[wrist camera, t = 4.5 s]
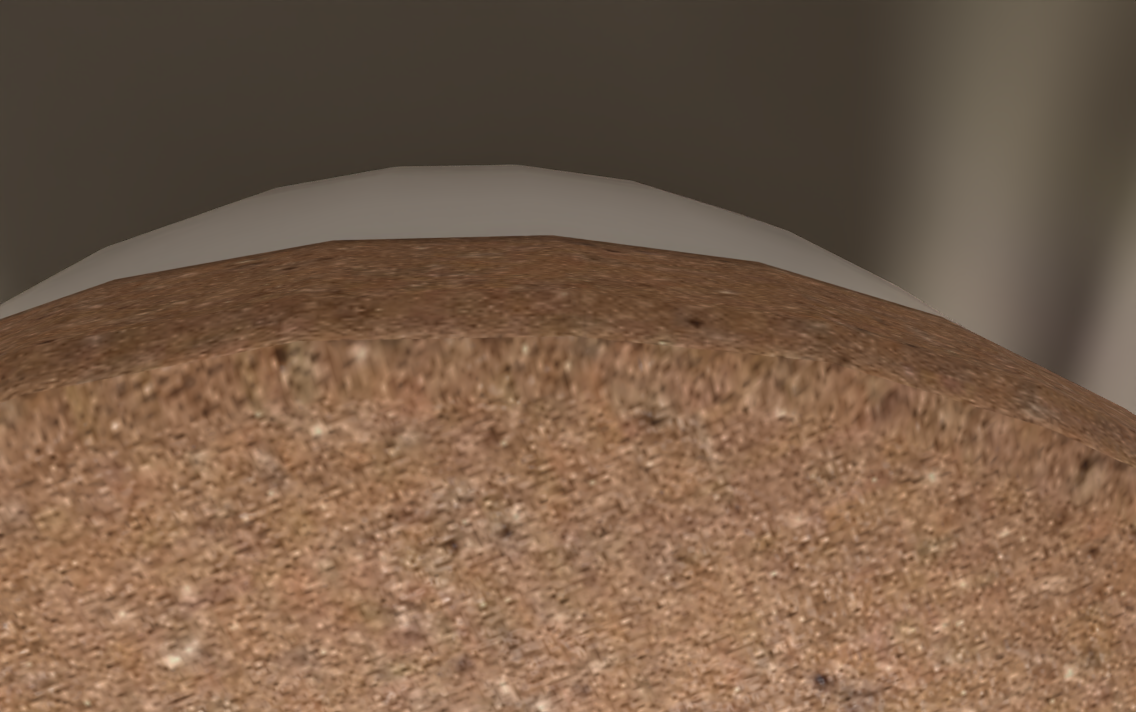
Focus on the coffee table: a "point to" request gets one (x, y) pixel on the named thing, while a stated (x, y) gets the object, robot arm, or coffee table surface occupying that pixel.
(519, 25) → the coffee table surface
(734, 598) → the lidded jar
